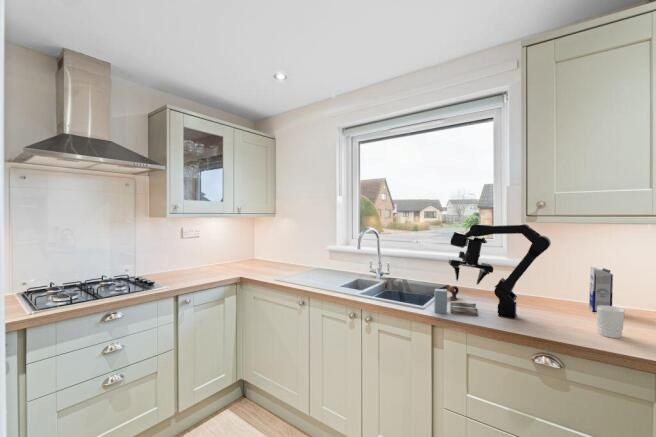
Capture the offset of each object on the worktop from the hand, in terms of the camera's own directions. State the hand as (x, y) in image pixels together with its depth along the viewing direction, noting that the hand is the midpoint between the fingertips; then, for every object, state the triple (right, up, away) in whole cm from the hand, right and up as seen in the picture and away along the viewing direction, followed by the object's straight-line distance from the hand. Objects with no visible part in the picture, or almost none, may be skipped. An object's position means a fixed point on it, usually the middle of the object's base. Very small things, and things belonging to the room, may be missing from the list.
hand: (467, 282), depth 153 cm
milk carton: (+59, -13, -4) cm, 61 cm away
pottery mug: (-2, -12, +17) cm, 21 cm away
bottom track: (-4, -12, -4) cm, 14 cm away
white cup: (+40, -14, -31) cm, 53 cm away
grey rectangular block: (-14, -12, -5) cm, 19 cm away
